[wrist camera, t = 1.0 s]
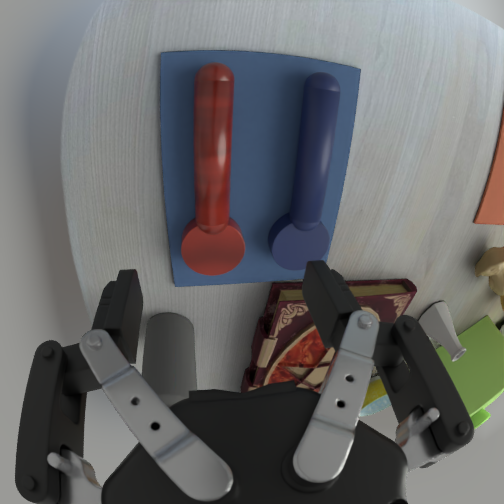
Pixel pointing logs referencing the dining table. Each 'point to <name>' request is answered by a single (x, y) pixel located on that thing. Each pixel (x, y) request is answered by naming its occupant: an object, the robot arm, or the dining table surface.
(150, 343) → the bottle
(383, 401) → the bowl
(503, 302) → the apple
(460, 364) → the canister
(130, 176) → the dining table surface
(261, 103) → the blue mat
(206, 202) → the red spoon
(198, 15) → the dining table surface
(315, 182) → the blue spoon
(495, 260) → the cat figurine
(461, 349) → the flask
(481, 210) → the red mat
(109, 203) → the dining table surface
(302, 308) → the book
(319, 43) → the dining table surface
